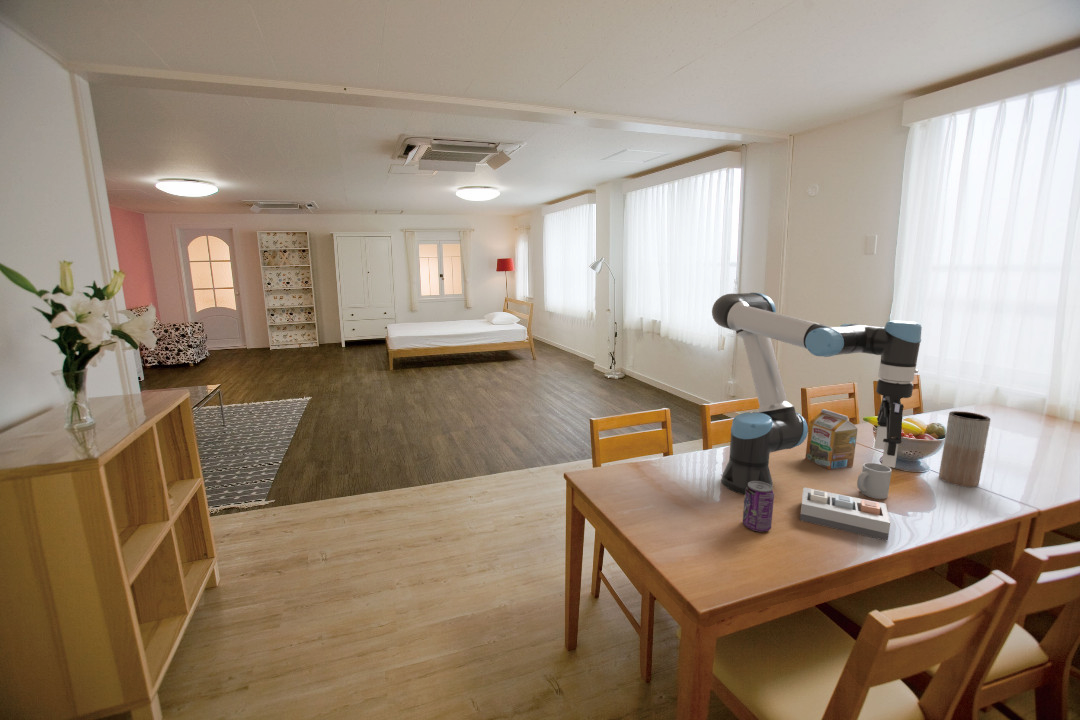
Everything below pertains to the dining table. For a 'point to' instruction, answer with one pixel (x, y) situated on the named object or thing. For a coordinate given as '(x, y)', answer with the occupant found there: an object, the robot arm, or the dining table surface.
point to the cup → (874, 480)
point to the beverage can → (758, 506)
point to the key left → (818, 496)
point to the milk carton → (831, 440)
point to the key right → (870, 507)
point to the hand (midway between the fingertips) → (884, 457)
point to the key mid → (843, 501)
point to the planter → (964, 448)
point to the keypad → (845, 516)
